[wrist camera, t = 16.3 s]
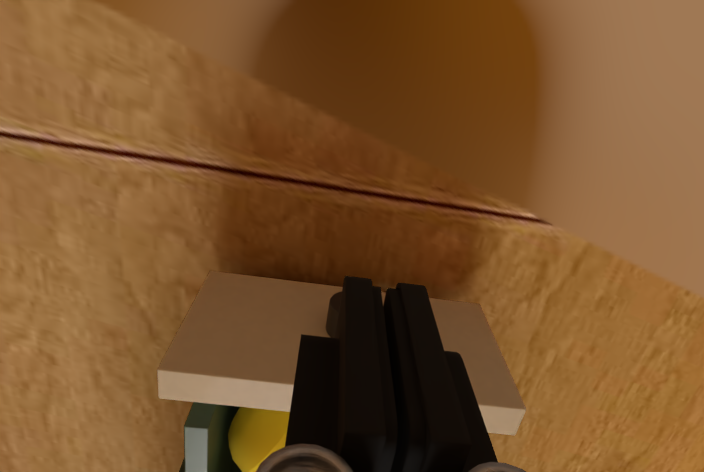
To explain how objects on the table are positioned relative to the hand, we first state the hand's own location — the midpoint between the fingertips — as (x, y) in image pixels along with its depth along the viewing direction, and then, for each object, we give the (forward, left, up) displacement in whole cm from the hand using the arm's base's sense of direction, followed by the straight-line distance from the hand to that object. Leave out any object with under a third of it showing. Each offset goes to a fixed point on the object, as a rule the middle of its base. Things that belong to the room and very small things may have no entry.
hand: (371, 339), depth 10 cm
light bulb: (+9, 0, -6) cm, 11 cm away
